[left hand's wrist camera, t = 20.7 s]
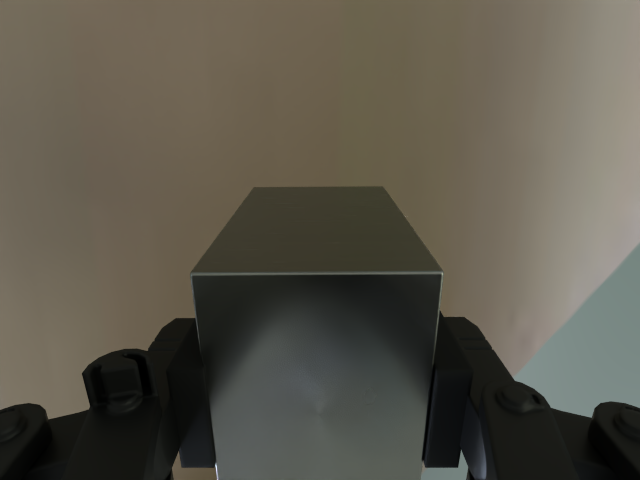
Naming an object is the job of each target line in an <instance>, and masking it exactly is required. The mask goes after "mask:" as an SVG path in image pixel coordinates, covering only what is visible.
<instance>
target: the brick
mask: <svg viewBox="0 0 640 480" xmlns="http://www.w3.org/2000/svg"><path fill="white" fill-rule="evenodd" d="M443 276H444V272H443V270H442V269H441V267H440V266H439V264H438V263H437V262H436V260H435V259H434V257H433V256H432V255H431V253H430V252H429V250H428V249H427V248H426V246H425V245H424V243H423V242H422V241H421V239H420V238H419V236H418V235H417V234H416V232H415V231H414V229H413V228H412V226H411V225H410V224H409V222H408V221H407V219H406V218H405V217H404V215H403V214H402V212H401V211H400V210H399V208H398V207H397V205H396V204H395V203H394V201H393V200H392V198H391V197H390V196H389V194H388V193H387V191H386V190H385V188H384V187H382V186H378V187H254V188H253V189H252V190H251V192H250V193H249V194H248V196H247V197H246V198H245V200H244V201H243V203H242V204H241V205H240V207H239V208H238V209H237V211H236V212H235V213H234V215H233V216H232V217H231V219H230V220H229V221H228V223H227V224H226V225H225V227H224V228H223V229H222V231H221V232H220V234H219V235H218V236H217V238H216V239H215V240H214V242H213V243H212V244H211V246H210V247H209V248H208V250H207V251H206V252H205V254H204V255H203V256H202V258H201V259H200V261H199V262H198V263H197V265H196V266H195V267H194V269H193V270H192V271H191V273H190V278H191V286H192V293H193V301H194V309H195V316H196V324H197V331H198V339H199V346H200V354H201V361H202V367H204V374H205V382H206V390H207V398H208V406H209V414H210V422H211V430H212V438H213V446H214V454H215V462H216V464H215V467H216V475H217V480H421V472H422V463H423V455H424V446H425V437H426V428H427V419H428V410H429V401H430V392H431V383H432V374H433V365H434V356H435V347H436V338H437V329H438V320H439V312H440V303H441V294H442V285H443Z"/></svg>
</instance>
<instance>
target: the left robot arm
mask: <svg viewBox="0 0 640 480" xmlns="http://www.w3.org/2000/svg"><path fill="white" fill-rule="evenodd" d="M82 376H83V380H84V384H85V388H86V391H87V395H88V399H89V403H90V408H89V410H86V411H82V412H79V413H75V414H71V415H66V416H62V417H57V418H53V419H49V420H48V417H47V413H46V410H45V409H44V408H43V407H41V406H40V405H37V404H31V403H27V404H19V405H14V406H11V407H8V408H5V409H2V410H0V480H174V479H173V472H172V466H173V464H174V461H175V459H176V456H177V454H178V451H179V454H180V460H181V466H182V468H214V467H215V464H216V462H215V454H214V446H213V438H212V430H211V422H210V414H209V406H208V398H207V390H206V382H205V374H204V367H202V361H201V354H200V346H199V339H198V331H197V324H196V318H176V319H174V320H173V321H171V322H170V323H169V324H167V325H166V326H164V327H163V328H162V329H161V331H160V332H159V334H158V335H157V336H156V338H155V341H153V342H152V344H151V345H150V347H149V348H148V351H144V350H140V349H123V350H119V351H114V352H111V353H108V354H106V355H104V356H102V357H99V358H98V359H96V360H95V361H94V362H92V363H91V364H89V365H88V366H87V368H86V369H85V370H84V371H83V373H82ZM461 450H462V452H463V455H464V457H465V460H466V462H467V465H468V473H467V478H466V480H640V408H638V407H635V406H632V405H629V404H626V403H619V402H605V403H600V404H599V405H598V406H597V407H596V408H595V409H594V412H593V416H592V418H590V417H585V416H581V415H577V414H572V413H568V412H563V411H560V410H556V409H553V408H550V405H549V404H548V402H547V401H546V399H545V398H544V397H543V396H542V395H541V394H540V393H538V392H537V391H536V390H535V389H533V388H531V387H529V386H527V385H525V384H523V383H520V382H517V381H515V380H514V379H513V378H512V376H511V375H510V373H509V372H508V370H507V369H506V367H505V366H504V364H503V363H502V362H501V360H500V359H499V357H498V356H497V354H496V353H495V351H494V350H492V347H491V345H490V344H489V343H488V341H487V340H485V337H484V335H483V334H482V332H481V331H480V329H479V328H478V327H477V326H476V325H475V324H473V323H472V322H470V321H469V320H467V319H466V318H465V317H443V315H442V313H441V311H440V312H439V320H438V329H437V338H436V347H435V356H434V365H433V374H432V383H431V392H430V401H429V410H428V419H427V428H426V437H425V446H424V455H423V461H424V465H425V468H448V467H449V468H458V464H459V458H460V452H461Z"/></svg>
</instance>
